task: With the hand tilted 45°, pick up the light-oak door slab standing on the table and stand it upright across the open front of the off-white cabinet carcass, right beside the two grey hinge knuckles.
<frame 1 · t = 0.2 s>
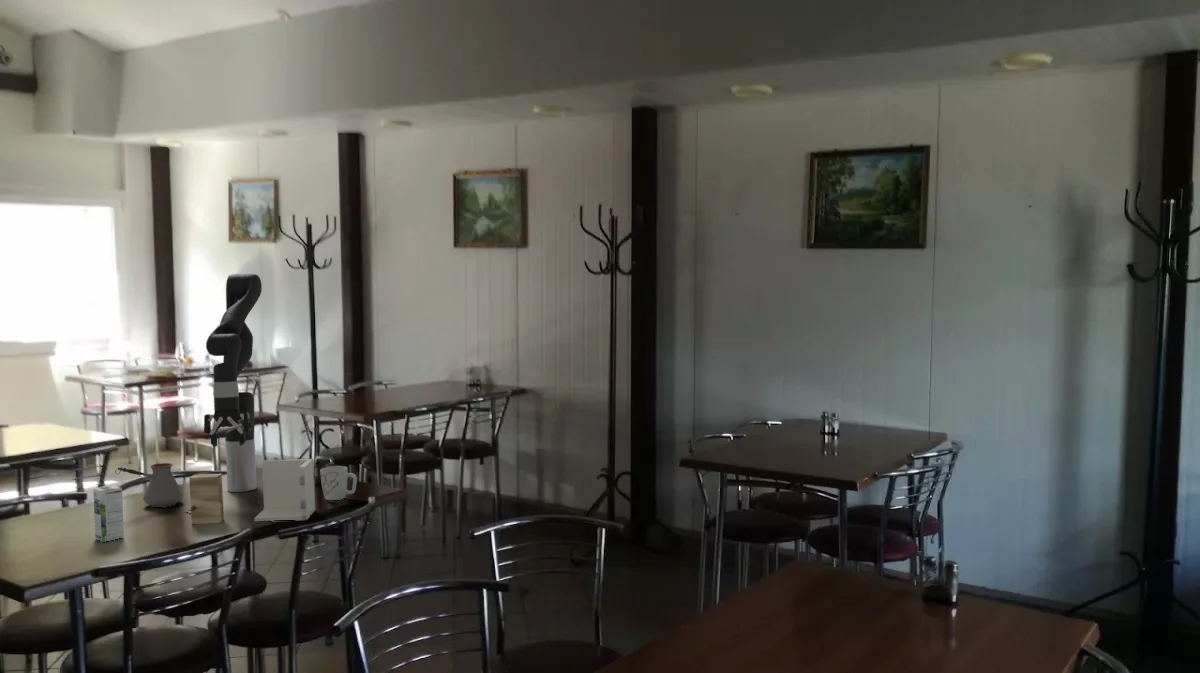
hand: (228, 445, 303), 18 cm above the table, tool pointing down, fingers open, 8 cm apart
coffee pot: (149, 509, 295), on the table
condiment: (202, 511, 290), on the table
mug: (339, 499, 303), on the table
carcass: (284, 516, 282), on the table
syrup box: (109, 539, 261), on the table
door: (207, 522, 277), on the table
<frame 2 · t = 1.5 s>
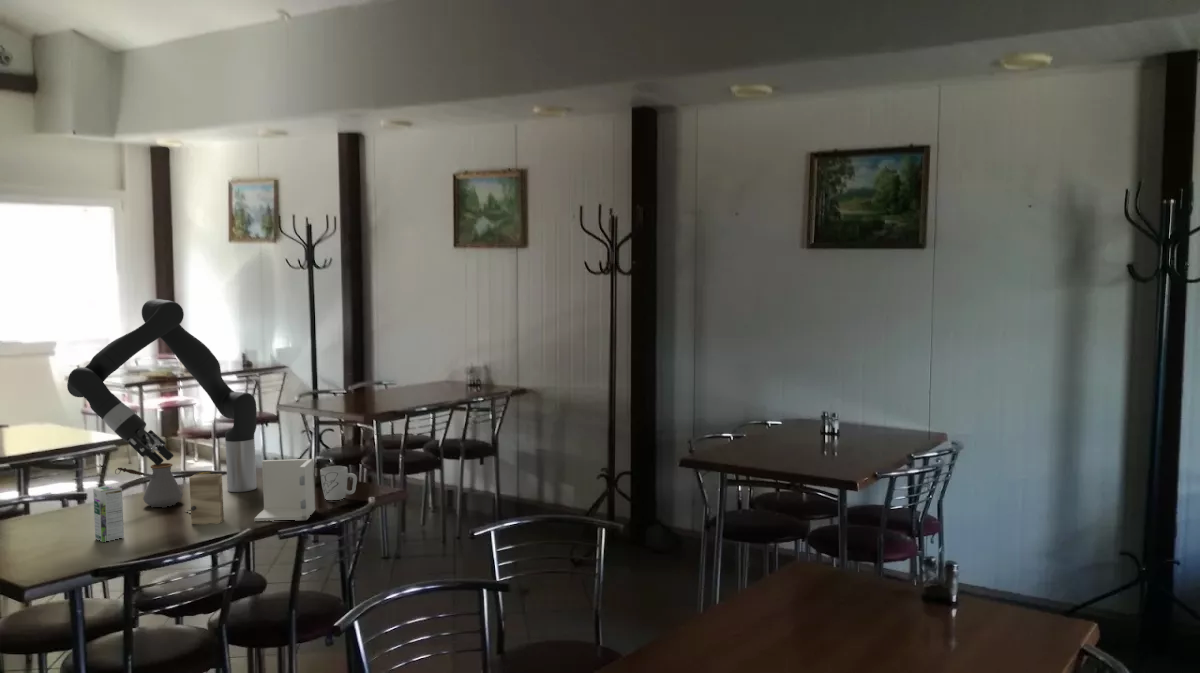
hand: (166, 460, 274), 19 cm above the table, tool tilted 45°, fingers open, 8 cm apart
nothing on the table moved.
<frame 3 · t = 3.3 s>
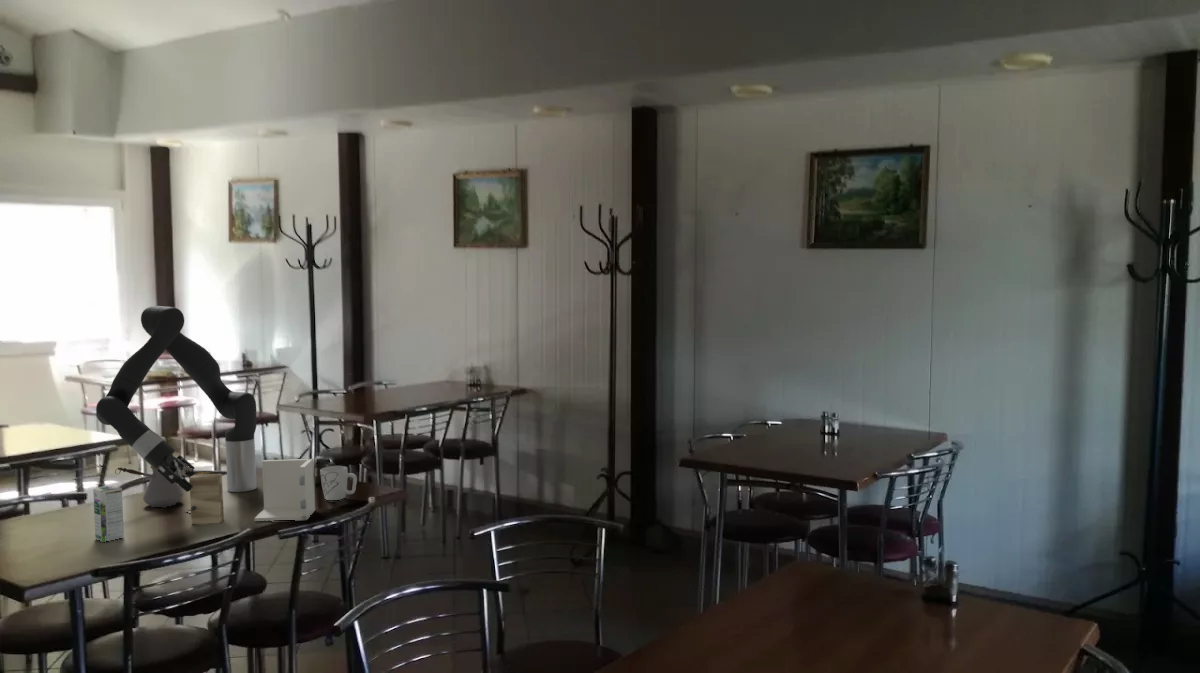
hand: (195, 486, 276), 11 cm above the table, tool tilted 45°, fingers open, 8 cm apart
nothing on the table moved.
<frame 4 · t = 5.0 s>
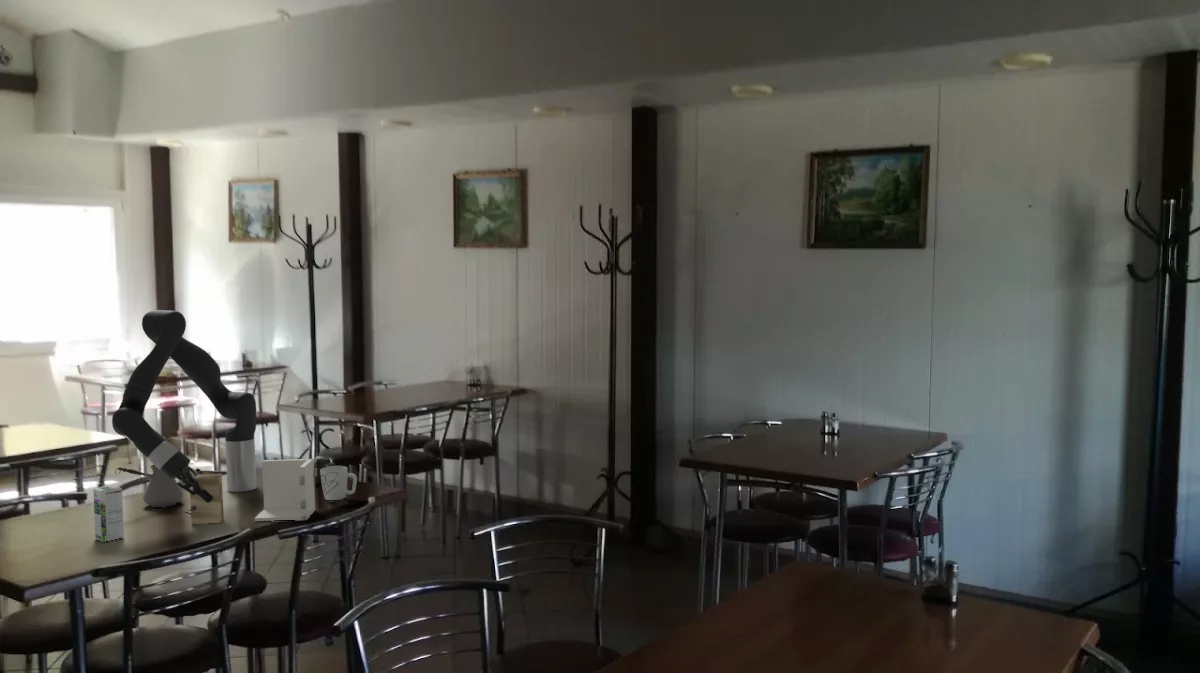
hand: (213, 498, 277), 7 cm above the table, tool tilted 45°, fingers closed on door, 4 cm apart
door: (207, 522, 277), on the table, touching gripper
everything else where it was.
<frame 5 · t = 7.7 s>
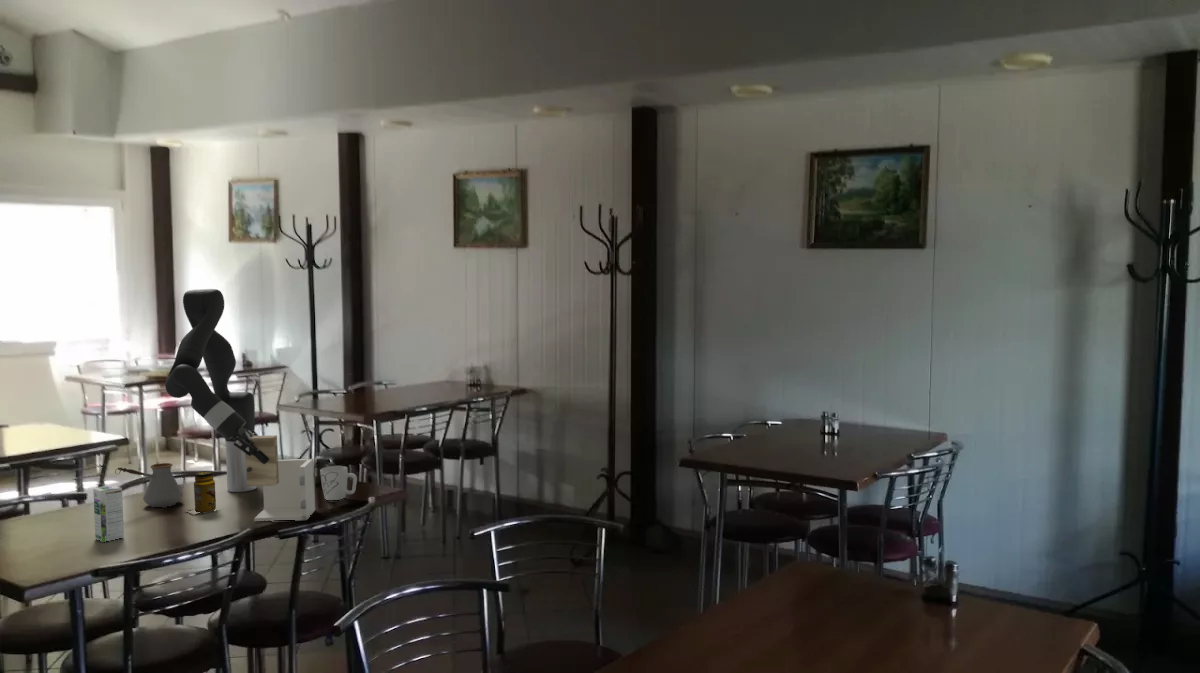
hand: (269, 460, 273), 19 cm above the table, tool tilted 45°, fingers closed on door, 4 cm apart
door: (263, 484, 273), point 12 cm above the table, touching gripper
everything else where it was.
when the fingers open (8 cm above the table, at t = 10.5 s): door drops 1 cm, on the table.
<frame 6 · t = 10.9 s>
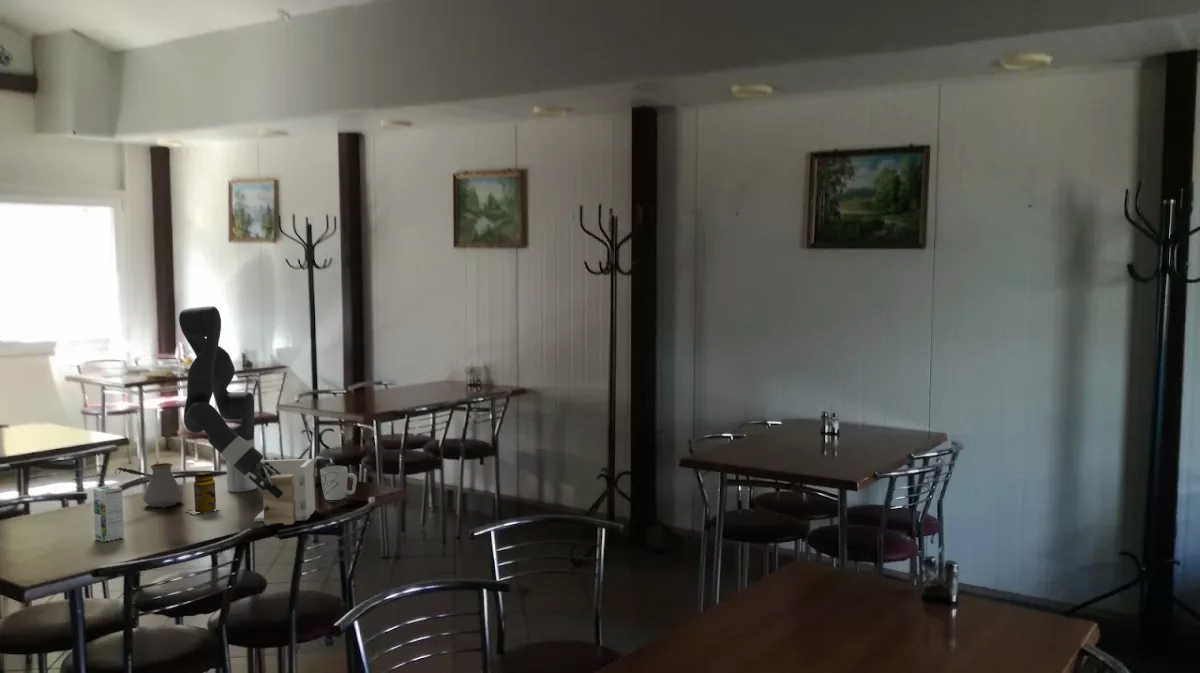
hand: (284, 492, 274), 9 cm above the table, tool tilted 45°, fingers open, 8 cm apart
door: (280, 523, 275), on the table
everything else where it was.
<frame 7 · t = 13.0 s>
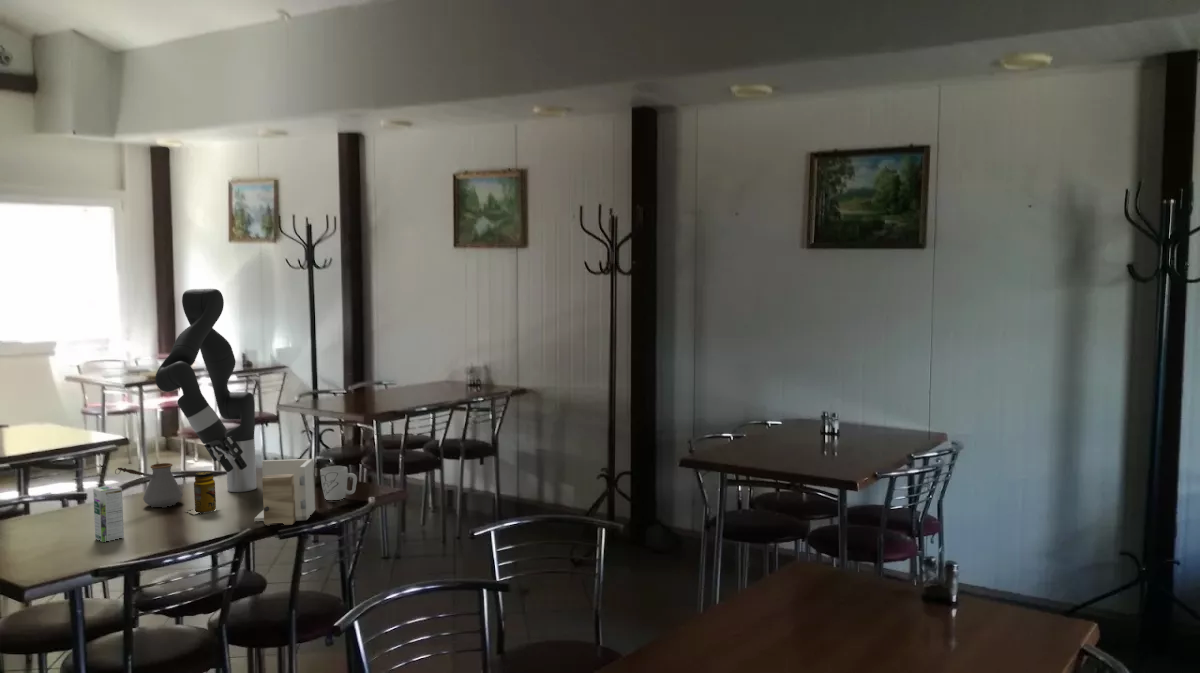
hand: (237, 469, 277), 15 cm above the table, tool tilted 30°, fingers open, 8 cm apart
nothing on the table moved.
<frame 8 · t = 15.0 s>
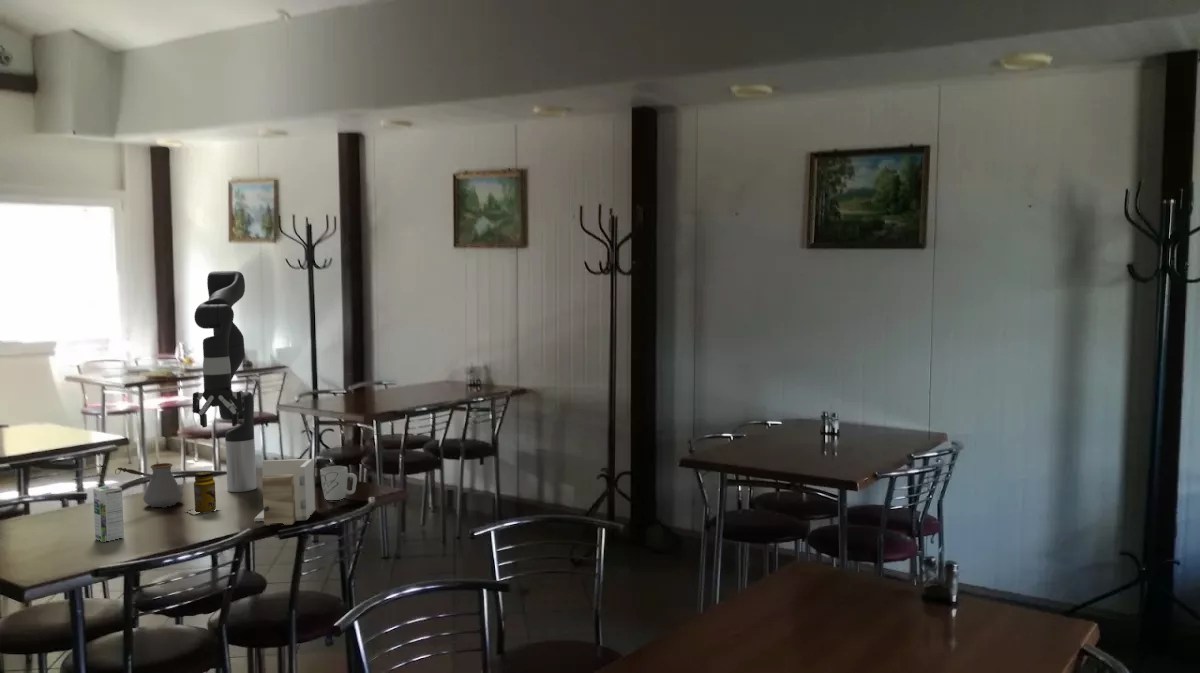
hand: (219, 426, 277), 28 cm above the table, tool pointing down, fingers open, 8 cm apart
nothing on the table moved.
at the end: door 0.1 cm from the target spot, on the table; door tilted 0°; the gripper is holding nothing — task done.
